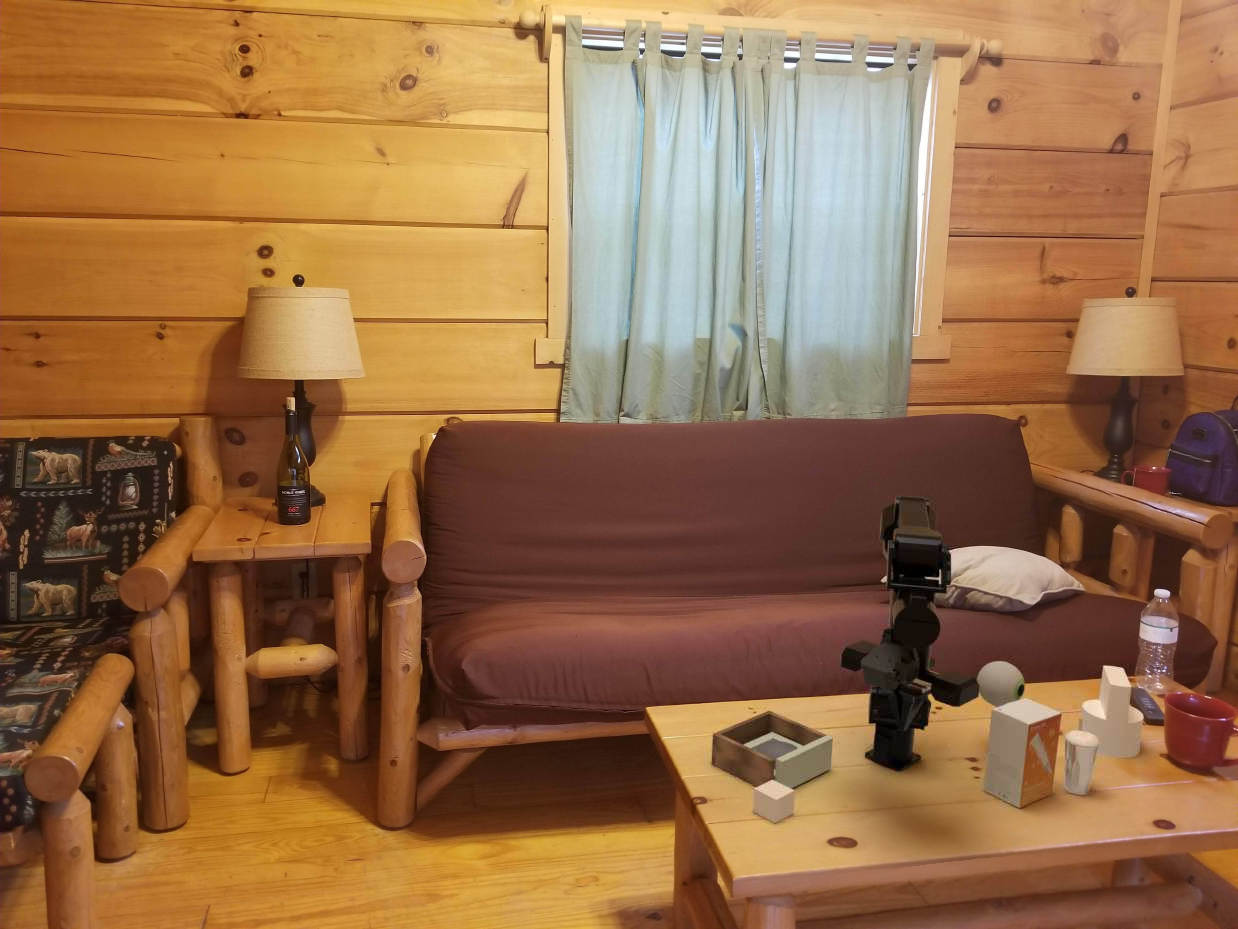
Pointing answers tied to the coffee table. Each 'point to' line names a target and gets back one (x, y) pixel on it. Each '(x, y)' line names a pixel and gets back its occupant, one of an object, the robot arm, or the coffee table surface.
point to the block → (773, 801)
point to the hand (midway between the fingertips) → (902, 729)
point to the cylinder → (775, 749)
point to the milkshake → (1079, 760)
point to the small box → (1022, 752)
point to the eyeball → (1000, 683)
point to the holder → (748, 761)
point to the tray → (799, 759)
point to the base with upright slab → (1114, 716)
